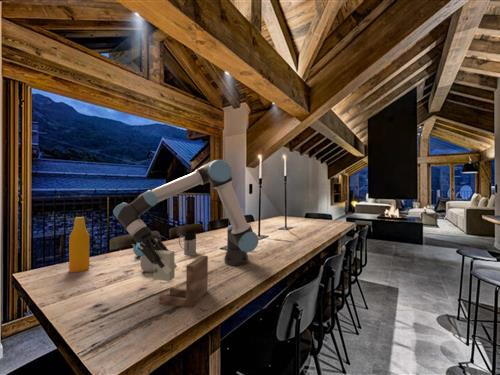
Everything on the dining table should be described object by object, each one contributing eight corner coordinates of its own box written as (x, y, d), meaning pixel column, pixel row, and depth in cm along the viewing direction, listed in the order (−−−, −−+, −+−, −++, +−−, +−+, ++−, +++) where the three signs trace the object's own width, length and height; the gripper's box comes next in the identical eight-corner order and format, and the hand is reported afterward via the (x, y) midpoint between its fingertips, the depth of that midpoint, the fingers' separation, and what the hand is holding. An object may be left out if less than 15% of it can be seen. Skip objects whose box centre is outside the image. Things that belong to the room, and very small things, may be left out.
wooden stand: (159, 303, 95) (159, 263, 94) (178, 287, 109) (178, 253, 109) (192, 307, 91) (192, 266, 91) (207, 291, 106) (207, 255, 105)
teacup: (153, 274, 124) (153, 259, 124) (135, 273, 126) (135, 258, 126) (167, 265, 138) (168, 252, 138) (151, 264, 140) (151, 251, 140)
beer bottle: (91, 269, 131) (91, 217, 130) (70, 273, 124) (70, 219, 124) (87, 265, 137) (87, 215, 137) (67, 269, 130) (67, 217, 130)
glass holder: (199, 253, 164) (199, 231, 164) (183, 258, 152) (183, 235, 152) (190, 251, 169) (190, 230, 169) (174, 255, 157) (174, 233, 157)
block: (151, 280, 103) (151, 253, 103) (159, 275, 108) (158, 250, 108) (168, 282, 102) (167, 254, 101) (174, 277, 106) (174, 251, 106)
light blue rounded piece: (152, 258, 151) (152, 242, 151) (129, 259, 148) (129, 243, 148) (155, 252, 164) (155, 238, 164) (135, 253, 161) (135, 238, 161)
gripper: (146, 233, 117) (176, 268, 113) (120, 241, 100) (155, 283, 97) (156, 223, 116) (186, 258, 112) (131, 229, 99) (166, 271, 95)
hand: (172, 270), depth 104 cm, fingers closed on block, 4 cm apart
